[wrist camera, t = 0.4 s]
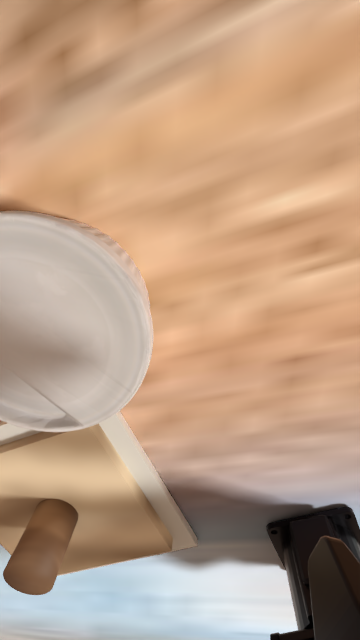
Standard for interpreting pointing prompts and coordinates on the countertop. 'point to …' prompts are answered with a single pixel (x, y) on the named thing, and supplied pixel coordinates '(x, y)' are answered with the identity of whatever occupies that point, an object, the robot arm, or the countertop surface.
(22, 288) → the ramekin
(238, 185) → the countertop surface
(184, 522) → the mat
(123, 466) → the board
